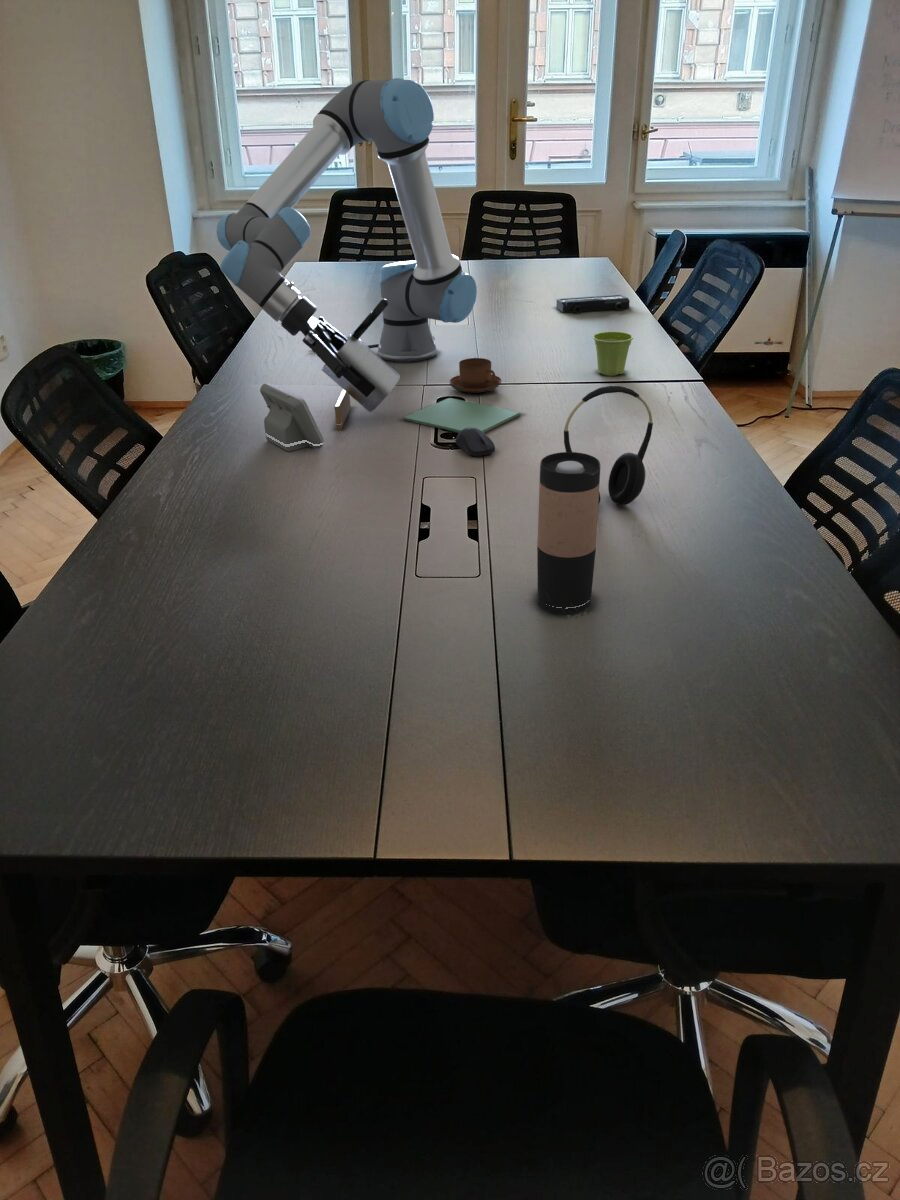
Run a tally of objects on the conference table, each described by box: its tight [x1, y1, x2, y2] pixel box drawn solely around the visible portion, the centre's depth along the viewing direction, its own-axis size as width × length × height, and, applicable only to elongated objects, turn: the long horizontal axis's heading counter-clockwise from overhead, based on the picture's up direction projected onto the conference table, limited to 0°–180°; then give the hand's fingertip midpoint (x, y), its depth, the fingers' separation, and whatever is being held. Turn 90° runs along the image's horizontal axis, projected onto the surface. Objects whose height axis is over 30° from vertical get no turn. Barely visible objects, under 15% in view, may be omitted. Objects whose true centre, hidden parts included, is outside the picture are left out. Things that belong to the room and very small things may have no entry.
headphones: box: [563, 385, 654, 506], centre depth 141 cm, size 9×15×20 cm, turn 101°
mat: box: [403, 397, 521, 434], centre depth 187 cm, size 19×16×1 cm
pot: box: [321, 298, 401, 413], centre depth 182 cm, size 16×10×23 cm, turn 88°
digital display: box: [555, 294, 631, 314], centre depth 272 cm, size 21×3×10 cm
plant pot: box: [592, 331, 634, 377], centre depth 210 cm, size 9×9×9 cm
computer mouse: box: [455, 427, 496, 457], centre depth 169 cm, size 6×9×4 cm, turn 27°
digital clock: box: [259, 383, 325, 452], centre depth 174 cm, size 16×9×11 cm, turn 26°
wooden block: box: [334, 388, 351, 430], centre depth 187 cm, size 1×14×5 cm, turn 178°
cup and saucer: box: [449, 357, 502, 394], centre depth 203 cm, size 12×12×6 cm
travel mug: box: [536, 451, 601, 615], centre depth 114 cm, size 8×8×20 cm
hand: (374, 384), depth 185 cm, fingers closed on pot, 10 cm apart
